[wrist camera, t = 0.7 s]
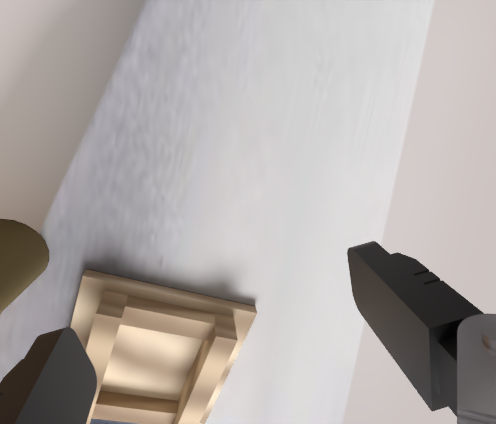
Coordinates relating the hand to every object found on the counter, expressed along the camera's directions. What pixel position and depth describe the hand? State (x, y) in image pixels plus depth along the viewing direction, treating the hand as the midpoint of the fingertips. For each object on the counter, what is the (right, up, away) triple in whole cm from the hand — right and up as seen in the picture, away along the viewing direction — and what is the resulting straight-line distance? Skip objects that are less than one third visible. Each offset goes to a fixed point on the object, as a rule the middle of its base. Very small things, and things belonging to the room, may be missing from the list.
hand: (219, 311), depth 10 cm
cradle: (-9, -11, +25) cm, 29 cm away
